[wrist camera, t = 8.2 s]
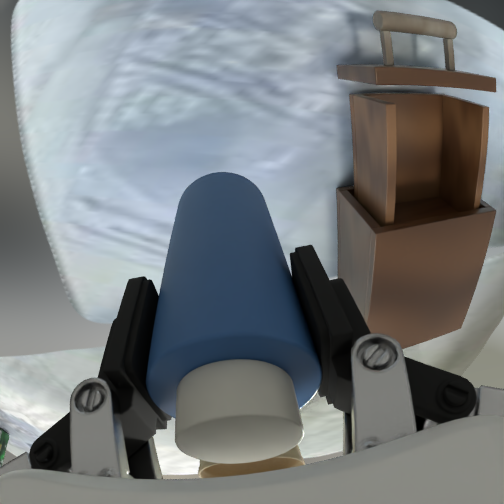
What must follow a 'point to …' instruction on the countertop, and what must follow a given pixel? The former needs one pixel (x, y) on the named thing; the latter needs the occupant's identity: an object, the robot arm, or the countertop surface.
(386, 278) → the cabinet
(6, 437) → the coffee jar
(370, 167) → the drawer
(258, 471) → the planter bowl
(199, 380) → the bottle
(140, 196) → the countertop surface
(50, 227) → the countertop surface
